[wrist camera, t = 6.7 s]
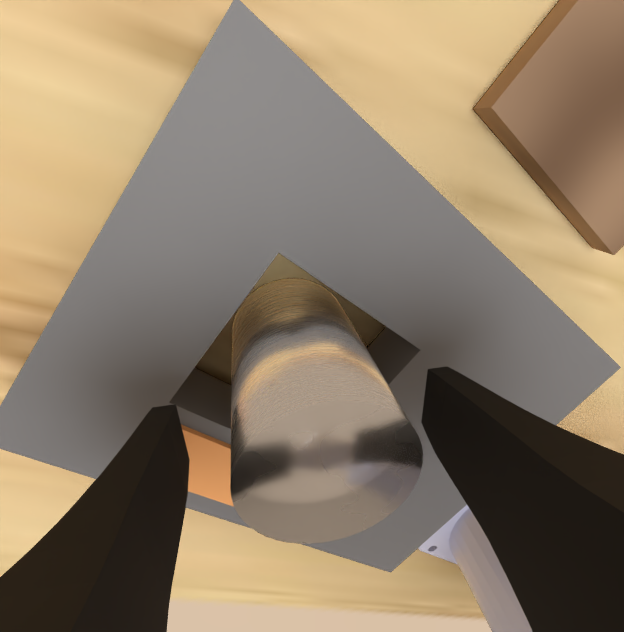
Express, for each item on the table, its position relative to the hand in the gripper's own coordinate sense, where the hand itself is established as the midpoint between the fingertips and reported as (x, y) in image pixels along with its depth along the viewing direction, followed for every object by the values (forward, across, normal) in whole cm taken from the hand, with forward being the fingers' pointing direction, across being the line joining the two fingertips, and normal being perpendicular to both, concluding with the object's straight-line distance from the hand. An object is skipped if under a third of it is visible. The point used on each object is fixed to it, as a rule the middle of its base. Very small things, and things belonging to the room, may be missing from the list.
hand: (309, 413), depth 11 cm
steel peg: (+4, 0, 0) cm, 4 cm away
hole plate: (+4, -2, +1) cm, 5 cm away
